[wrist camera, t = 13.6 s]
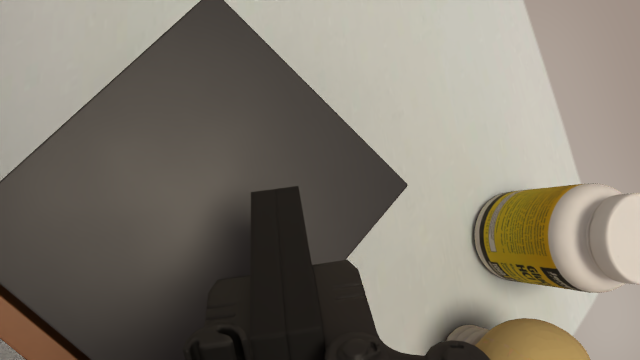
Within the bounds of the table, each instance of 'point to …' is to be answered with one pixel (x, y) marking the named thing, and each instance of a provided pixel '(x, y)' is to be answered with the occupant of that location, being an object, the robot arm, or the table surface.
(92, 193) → the cabinet
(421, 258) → the table surface
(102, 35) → the table surface
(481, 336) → the light bulb
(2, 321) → the drawer
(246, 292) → the robot arm
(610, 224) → the pill bottle
